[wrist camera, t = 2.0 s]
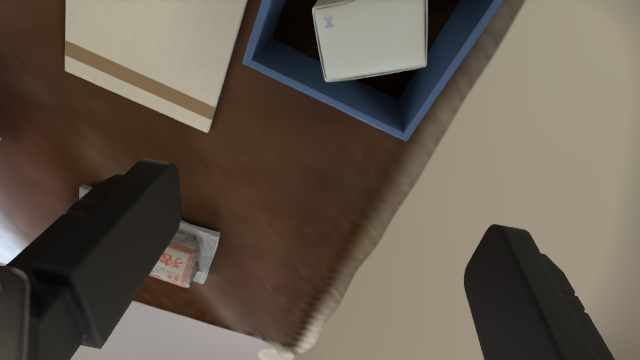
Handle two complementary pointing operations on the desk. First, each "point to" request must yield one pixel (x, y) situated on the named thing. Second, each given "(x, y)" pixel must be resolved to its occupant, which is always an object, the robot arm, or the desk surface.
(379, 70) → the cosmetic box
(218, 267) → the desk surface
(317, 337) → the desk surface
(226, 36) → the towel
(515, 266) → the robot arm
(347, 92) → the storage box
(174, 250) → the packaged product
